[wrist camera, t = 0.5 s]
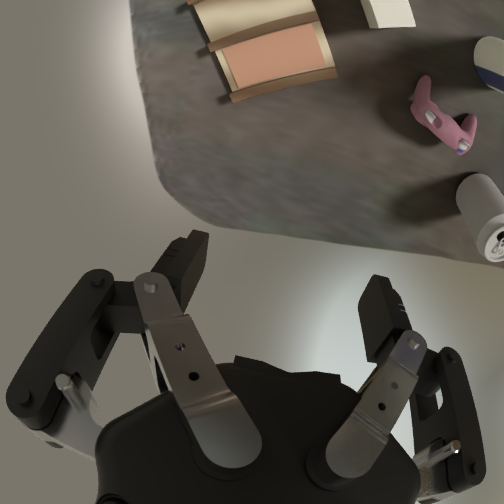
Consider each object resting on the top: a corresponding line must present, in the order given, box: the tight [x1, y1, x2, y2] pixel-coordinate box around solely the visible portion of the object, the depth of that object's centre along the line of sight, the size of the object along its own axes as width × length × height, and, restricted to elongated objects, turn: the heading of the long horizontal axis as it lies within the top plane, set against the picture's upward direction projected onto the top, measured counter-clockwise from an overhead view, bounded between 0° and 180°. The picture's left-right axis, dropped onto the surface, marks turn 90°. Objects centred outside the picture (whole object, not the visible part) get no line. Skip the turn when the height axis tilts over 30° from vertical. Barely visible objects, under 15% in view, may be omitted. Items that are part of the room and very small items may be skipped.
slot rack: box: [186, 0, 338, 103], centre depth 24 cm, size 16×13×2 cm
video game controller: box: [410, 75, 477, 155], centre depth 25 cm, size 10×5×7 cm, turn 70°
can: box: [456, 174, 504, 262], centre depth 28 cm, size 8×8×12 cm
